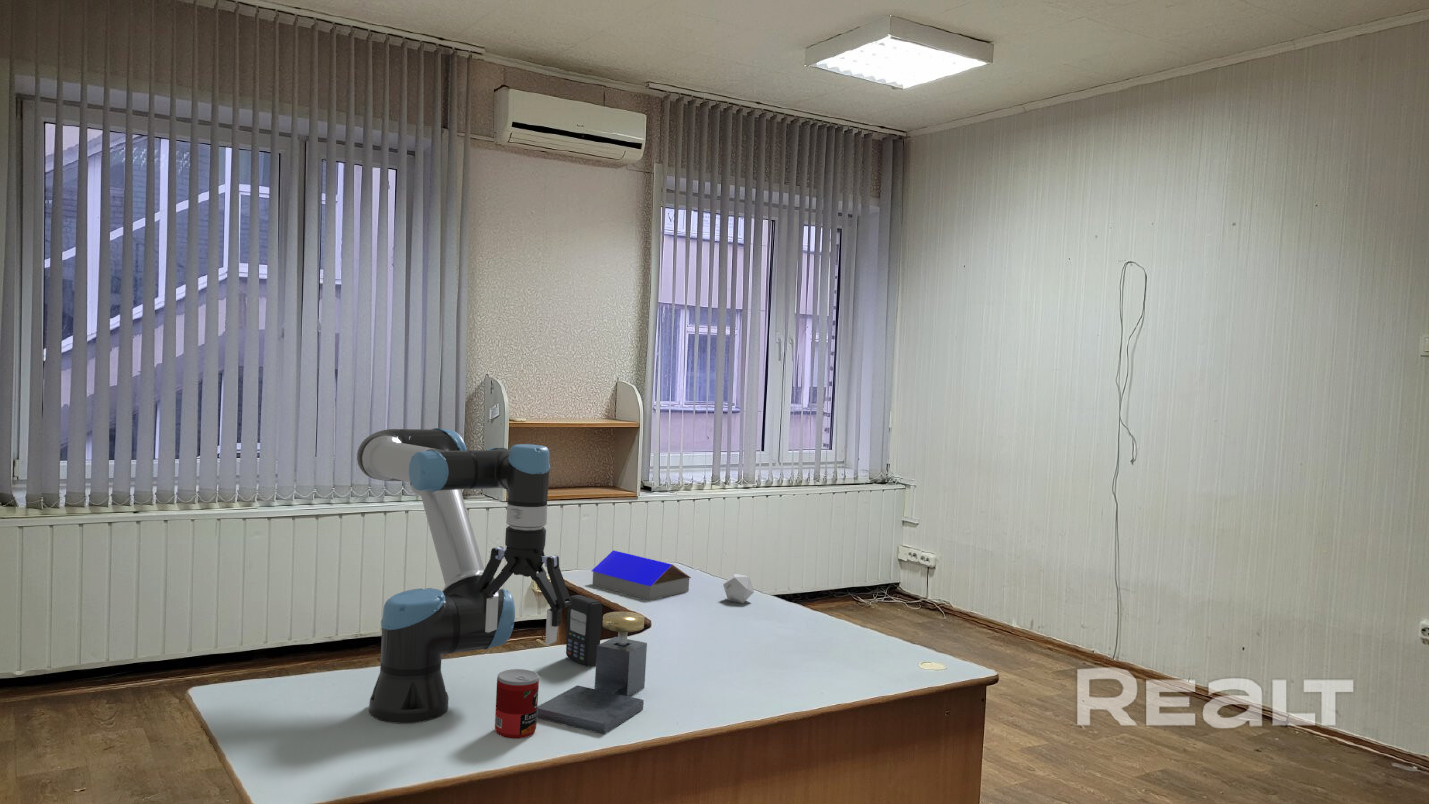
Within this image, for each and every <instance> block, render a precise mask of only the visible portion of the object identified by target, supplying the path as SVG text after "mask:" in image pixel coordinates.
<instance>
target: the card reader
mask: <svg viewBox="0 0 1429 804" xmlns="http://www.w3.org/2000/svg"><path fill="white" fill-rule="evenodd" d="M569 596H570V595H569ZM570 599H571V602H572V604H571V605H570V606H568V607H567V623H566V641H565V642H566V643H565V644H566V646H565V649H566V650H565V655H566V656H567V658H568V659H570V660H572V661H575V662H577V663H579V664H581V665H584V666H586V667H588V665H589V666H594V665H595V666H596V654H597V645H599V644H601V634H602V633H601V632H602V620H603V604H602V603H601V601H599V600H596V599H594V598H590V597H587V596H585V595H582V594H575V595H571V596H570Z"/></svg>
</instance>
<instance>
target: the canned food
mask: <svg viewBox="0 0 1429 804" xmlns="http://www.w3.org/2000/svg"><path fill="white" fill-rule="evenodd" d="M539 677H540V676H539V674H538V673H537V672H535V671H533V670H529V669H523V668H522V669H519V668H513V669H506V670H503V671H501V672H498V674H497V678H496V692H495V693H496V696H495V716H494V730H495V733H496V734H497V735H498V736H500V737H501V738H505V739H506V738H507V739H513V740H515V739H524V738H525V739H526V738H529V737H531V736H533V735H534V734H535V731H536V730H537V720H538V718H537V707H538V706H539V705H538V704H539V687H540V684H539V683H540V679H539Z"/></svg>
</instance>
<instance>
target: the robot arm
mask: <svg viewBox="0 0 1429 804" xmlns="http://www.w3.org/2000/svg"><path fill="white" fill-rule="evenodd" d="M356 461H357V465H358V467H359V469H360V470H361V472H362V473H363V474H364V475H365V476H366V477H369V478H371V479H373V480H378V481H384V482H385V481H386V482H405V483H406V482H407V483H409V484H410V488H411V489H410V490H411V491H412V492H413V494H415V495H416V496H419V497H420V498H421V502H422V505H423V509H424V512H425V517H426V519H427V523H428V527H429V532H430V533H431V534H430V535H431V538H432V541H433V545H434V547H435V552H436V556H437V560H438V563H439V567H440V570H441V571H440V572H441V575H442V577H443V581H444V585H445V586H444V587H443V588H442V590H440V589H438V588H433V587H432V588H431V587H429V588H414V589H409V590H405V591H401V592H399V593H396V594H393V595H392V596H391V597H390V598H387V600H386V601H385V602H384V604H383V611H382V618H381V620H380V624H381V625H380V626H381V644H380V645H381V646H380V647H381V648H380V668H379V669H380V670H379V674H378V677H377V680H376V682H375V685H374V687H373V691H372V694H371V696H370V698H369V703H368V704H369V706H368V712H369V715H370V716H372V717H373V718H374V719H376V720H379V721H383V722H387V723H388V722H389V723H396V724H413V723H421V722H427V721H430V720H434V719H437V718H439V717H441V716H443V715H444V714H446V713H447V712H448V710H449V701H450V700H449V695H448V692H447V691H446V690H447V689H446V685H445V682H444V677H443V673H442V657H443V655H448V654H449V655H450V654H455V653H463V652H471V651H472V652H473V651H478V650H479V651H480V650H489V649H492V648H495V647H501V646H502V645H505V644H506V643H507V641H509V639H510V638H511V635H512V633H513V629H514V626H515V622H516V621H515V619H516V608H515V607H516V606H515V601H514V597H513V594H512V593H511V591H509V590H508V589H505V588H501V587H502V586H503V585H504V584H505V583H506V582H507V581H508V580H509V578H510V577H511V576H512V575H515V576H519V575H520V576H523V577H526V578H527V577H530V579H532V581H534V582H535V583H536V586H537V587H538V588H539V590H540V592H541V593H542V596H543V597H544V598H545V600H546V603H547V604H548V605H549V607H550V608H547V609H546V622H545V623H546V624H545V641H544V642H545V644H544V645H548V646H549V645H551V644H554V643H556V642H557V641H558V640H557V639H558V636H557V635H558V627H559V626H561V623H562V611H563V609H564V608H568V606H570V605H571V604H572V602H571V599H570V594H569V591H568V588H567V584H566V583H565V582H566V581H565V580H564V576H563V574H562V571H561V568H560V557H559V555H557V554H553V555H545V552H544V551H545V547H546V537H547V529H546V528H545V526H546V525H547V518H548V501H549V500H548V498H549V497H548V496H549V483H550V482H549V481H550V470H551V464H550V450H549V448H548V447H547V446H545V445H540V444H532V443H520V444H514V445H512V446H511V447H510V449H508V448H506V447H490V448H488V449H475V450H473V449H472V450H471V449H469V450H468V449H467V445H466V443H465V441H464V439H463V438H462V436H461V435H460V434H459V433H458V432H457V431H455V430H452V429H449V428H448V429H444V428H441V427H440V428H439V427H434V428H431V429H428V428H427V429H426V428H425V429H424V428H422V429H418V428H414V429H413V428H409V429H408V428H406V429H405V428H400V429H399V428H391V429H382V430H379V431H376V432H374V433H372V434H370V435H369V436H367V437H366V438H365V439H364V440H363V441H361V444H360V445H359V447H358V449H357V454H356ZM477 489H478V490H483V489H503V490H506V491H507V501H506V503H507V504H506V524H507V527H506V528H505V538H504V539H505V540H504V541H505V542H504V544H505V548H504V546H501V545H500V546H497V547H492V548H491V550H490V556H489V560H488V562H487V564H486V566H484V562H483V560H482V556H481V553H480V550H479V545H478V543H477V540H476V536H475V533H474V529H473V526H472V523H471V521H470V517H469V514H468V513H469V512H468V510H467V507H466V503H465V500H464V497H463V493H462V490H477ZM503 559H504V560H505V561H506V564H505V565H504V567H503V568H502V569H501V570H500V572H499V573H498V575H496V573H497V571H498V569H499V567H500V565H501V563H502V561H503ZM543 565H544V566H543ZM544 567H545V568H546V570H545V568H544ZM495 575H496V577H495ZM547 575H548V576H547Z"/></svg>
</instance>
